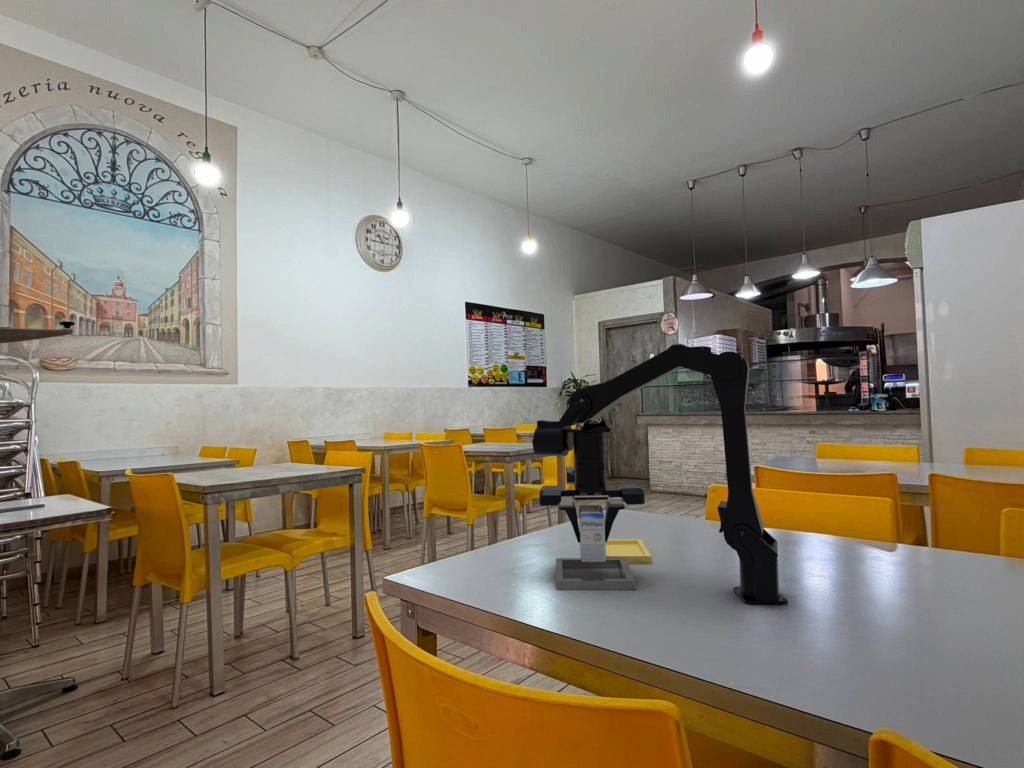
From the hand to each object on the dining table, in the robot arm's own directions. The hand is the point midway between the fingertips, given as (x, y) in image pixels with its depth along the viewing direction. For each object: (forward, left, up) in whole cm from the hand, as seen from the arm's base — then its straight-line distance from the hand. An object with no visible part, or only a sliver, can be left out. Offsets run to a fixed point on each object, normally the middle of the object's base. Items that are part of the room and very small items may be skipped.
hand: (592, 542), depth 100 cm
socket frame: (0, 0, -6) cm, 6 cm away
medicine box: (0, 0, -3) cm, 3 cm away
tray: (+15, -7, -6) cm, 17 cm away
